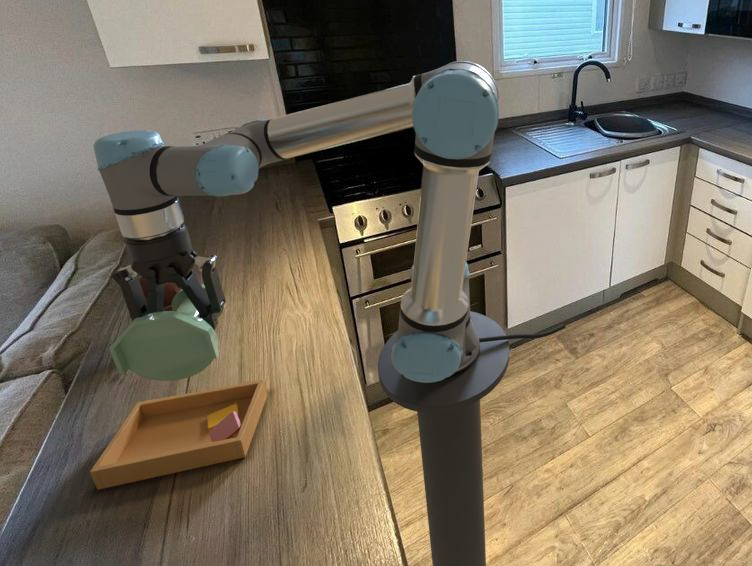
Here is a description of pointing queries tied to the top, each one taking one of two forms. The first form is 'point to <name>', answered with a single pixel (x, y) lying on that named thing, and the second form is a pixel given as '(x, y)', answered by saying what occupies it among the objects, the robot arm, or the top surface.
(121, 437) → the box
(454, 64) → the robot arm
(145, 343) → the green pedestal stand
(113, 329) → the top surface
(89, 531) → the top surface
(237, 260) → the top surface
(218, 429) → the sachet
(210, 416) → the sachet
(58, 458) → the top surface
